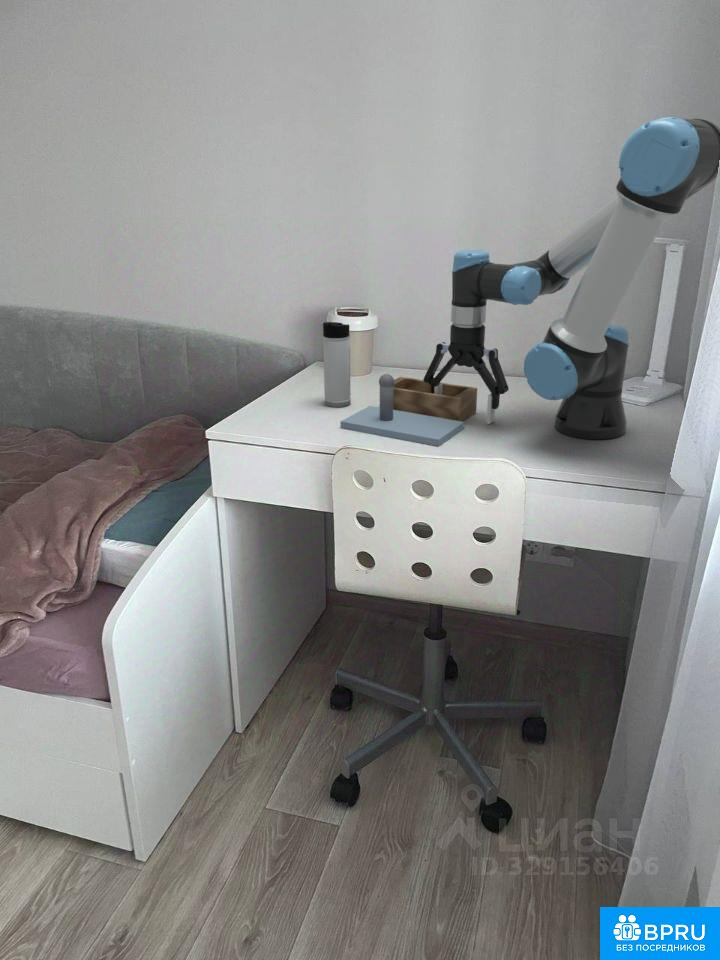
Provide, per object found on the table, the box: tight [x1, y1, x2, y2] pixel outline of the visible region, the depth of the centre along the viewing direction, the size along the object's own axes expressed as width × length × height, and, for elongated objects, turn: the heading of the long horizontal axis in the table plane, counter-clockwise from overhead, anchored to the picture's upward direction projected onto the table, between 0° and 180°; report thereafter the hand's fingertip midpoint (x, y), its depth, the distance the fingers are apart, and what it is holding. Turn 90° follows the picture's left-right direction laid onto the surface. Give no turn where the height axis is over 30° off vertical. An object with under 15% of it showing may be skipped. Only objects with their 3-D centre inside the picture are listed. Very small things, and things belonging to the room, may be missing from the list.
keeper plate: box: [340, 373, 465, 447], centre depth 173 cm, size 24×13×12 cm, turn 59°
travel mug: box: [322, 321, 352, 408], centre depth 188 cm, size 6×7×20 cm
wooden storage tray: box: [393, 376, 478, 423], centre depth 185 cm, size 20×10×6 cm, turn 59°
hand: (463, 417), depth 182 cm, fingers open, 12 cm apart
